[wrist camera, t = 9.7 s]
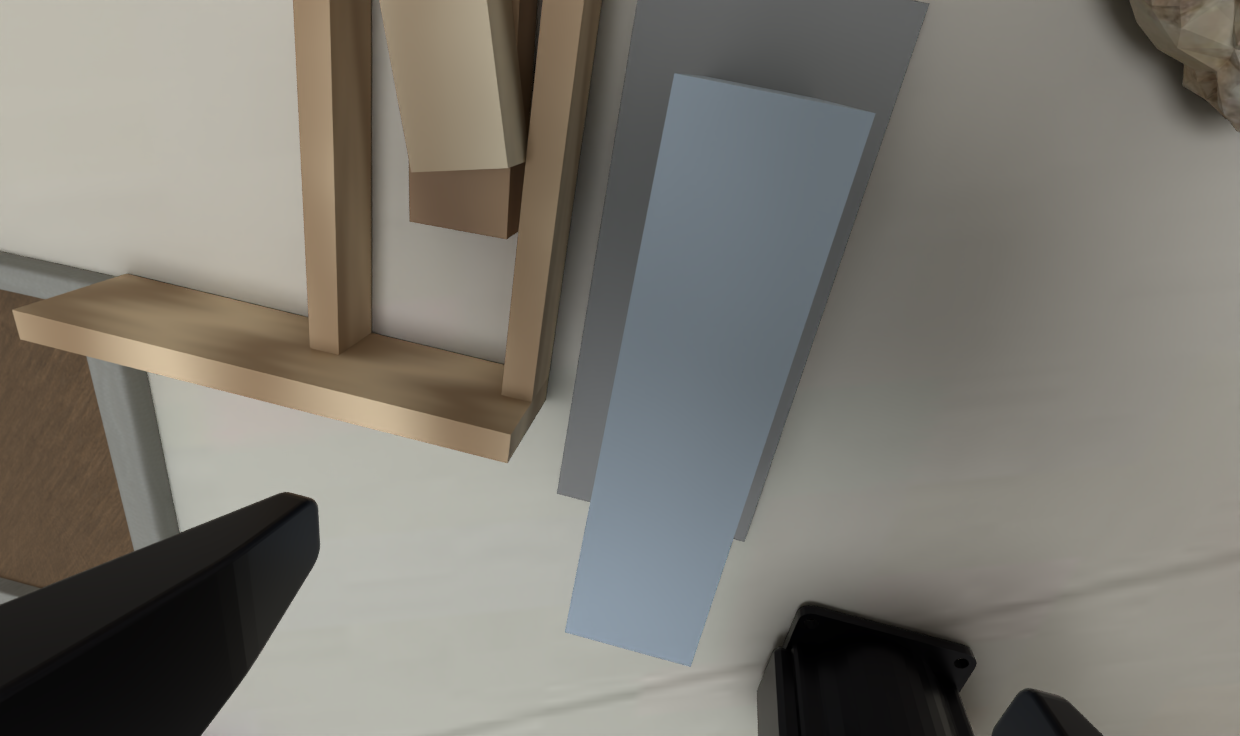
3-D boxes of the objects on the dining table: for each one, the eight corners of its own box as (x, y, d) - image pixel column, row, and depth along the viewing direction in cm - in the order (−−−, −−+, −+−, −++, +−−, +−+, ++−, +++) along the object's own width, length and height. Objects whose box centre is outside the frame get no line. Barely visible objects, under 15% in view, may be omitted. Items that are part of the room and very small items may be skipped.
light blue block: (815, 98, 16) (875, 113, 9) (706, 471, 22) (690, 667, 14) (702, 75, 17) (674, 72, 9) (622, 450, 22) (564, 632, 15)
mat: (925, 5, 15) (929, 3, 15) (744, 534, 23) (744, 541, 23) (647, -46, 16) (645, -49, 16) (559, 487, 23) (556, 493, 23)
